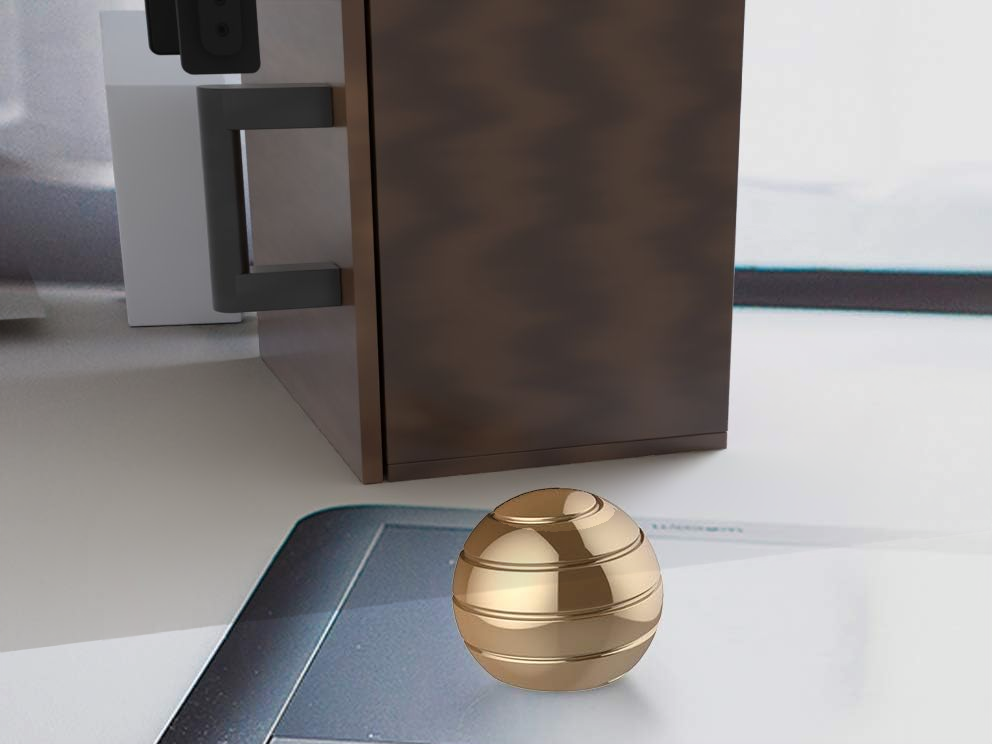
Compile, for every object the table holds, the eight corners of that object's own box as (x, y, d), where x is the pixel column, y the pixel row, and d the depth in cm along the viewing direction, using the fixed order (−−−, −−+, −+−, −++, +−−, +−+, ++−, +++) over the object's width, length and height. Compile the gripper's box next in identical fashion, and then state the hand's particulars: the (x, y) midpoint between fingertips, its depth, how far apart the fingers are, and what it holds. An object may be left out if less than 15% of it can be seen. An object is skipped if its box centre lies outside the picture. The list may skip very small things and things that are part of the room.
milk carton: (242, 324, 114) (220, 15, 106) (128, 329, 112) (98, 14, 105) (236, 301, 120) (215, 7, 113) (128, 305, 118) (100, 6, 111)
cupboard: (388, 484, 85) (367, -49, 75) (280, 356, 107) (253, -69, 97) (727, 450, 91) (748, -46, 82) (559, 336, 113) (560, -65, 103)
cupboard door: (239, 496, 82) (198, -47, 73) (159, 363, 104) (120, -68, 95) (383, 482, 85) (362, -46, 75) (276, 354, 106) (249, -66, 97)
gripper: (48, -363, 77) (93, 49, 83) (91, -422, 62) (141, 84, 69) (222, -352, 79) (251, 46, 86) (303, -406, 65) (330, 79, 71)
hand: (202, 63), depth 77 cm, fingers open, 9 cm apart
